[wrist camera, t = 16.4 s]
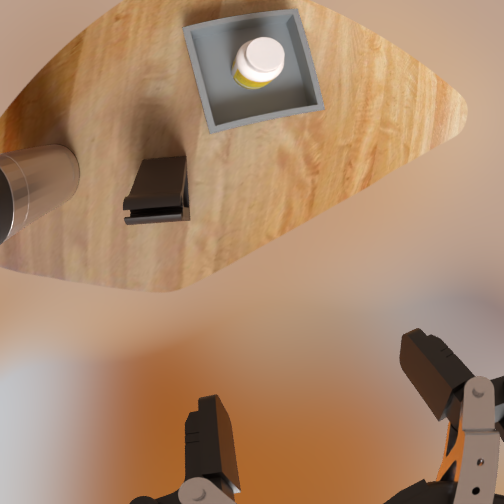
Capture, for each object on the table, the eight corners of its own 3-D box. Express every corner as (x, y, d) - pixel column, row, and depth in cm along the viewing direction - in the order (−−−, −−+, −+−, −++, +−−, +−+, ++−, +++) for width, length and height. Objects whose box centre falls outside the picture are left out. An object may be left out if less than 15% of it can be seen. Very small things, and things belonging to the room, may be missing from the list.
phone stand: (143, 159, 37) (118, 170, 27) (186, 155, 38) (178, 164, 27) (148, 222, 41) (129, 255, 30) (190, 219, 42) (184, 252, 31)
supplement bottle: (275, 87, 35) (295, 74, 26) (234, 93, 35) (243, 81, 26) (267, 51, 33) (285, 29, 24) (227, 56, 33) (233, 34, 24)
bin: (209, 134, 38) (210, 133, 33) (184, 38, 32) (182, 27, 28) (313, 111, 38) (324, 109, 34) (288, 19, 32) (297, 8, 28)
